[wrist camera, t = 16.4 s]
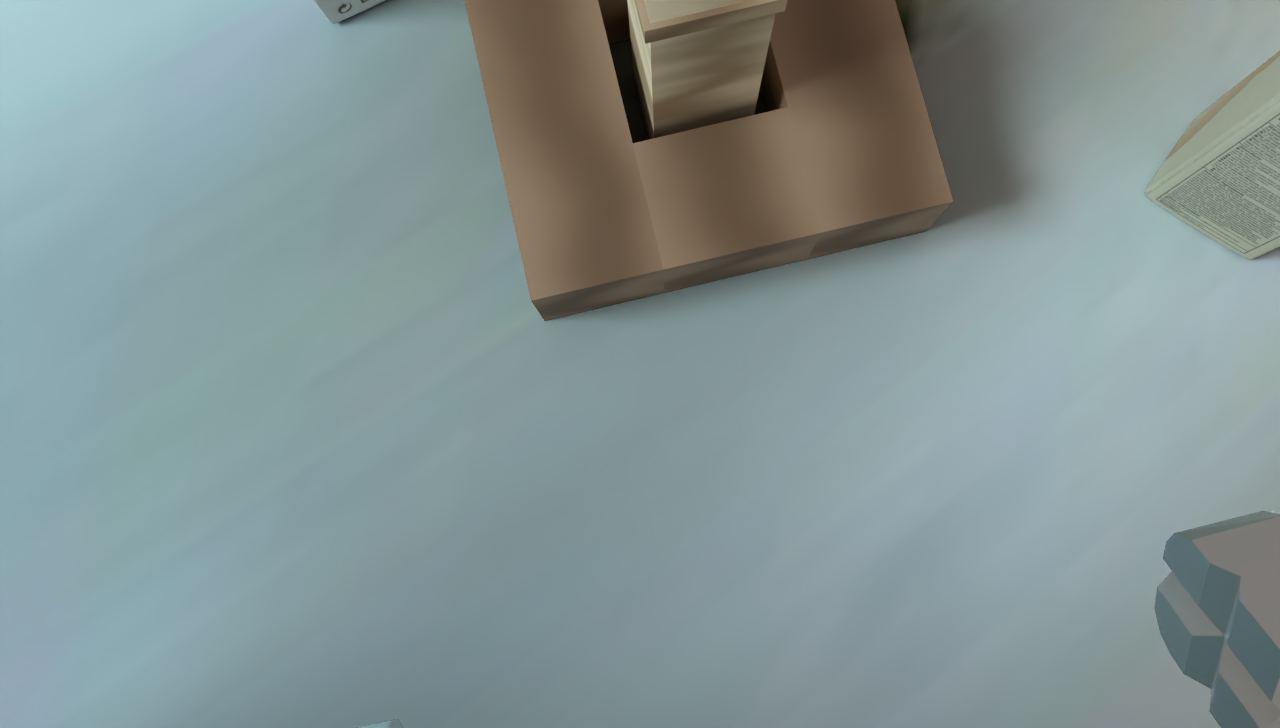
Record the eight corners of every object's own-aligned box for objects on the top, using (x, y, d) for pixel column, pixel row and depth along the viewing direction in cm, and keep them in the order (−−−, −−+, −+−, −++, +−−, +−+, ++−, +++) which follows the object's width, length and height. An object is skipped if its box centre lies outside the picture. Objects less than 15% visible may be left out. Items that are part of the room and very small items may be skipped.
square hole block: (544, 320, 41) (531, 300, 37) (465, -35, 43) (444, -90, 40) (926, 231, 41) (953, 201, 37) (826, -119, 44) (842, -182, 40)
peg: (651, 167, 42) (644, 31, 30) (627, 69, 43) (611, -101, 31) (754, 142, 42) (788, -3, 30) (729, 46, 43) (752, -134, 31)
